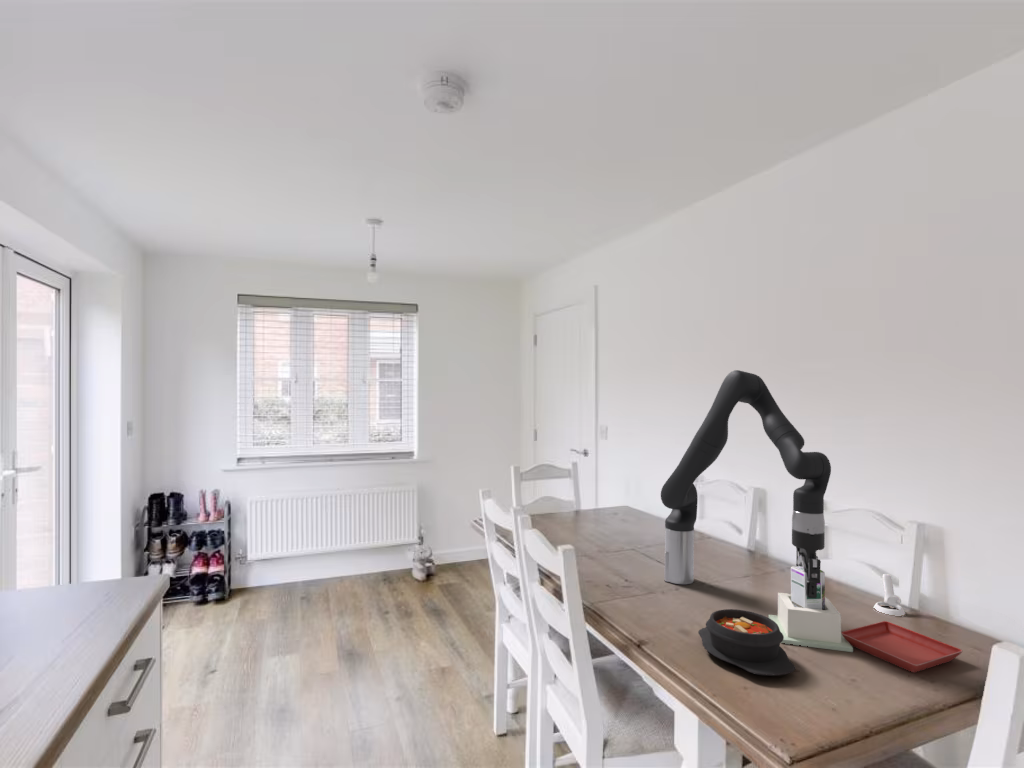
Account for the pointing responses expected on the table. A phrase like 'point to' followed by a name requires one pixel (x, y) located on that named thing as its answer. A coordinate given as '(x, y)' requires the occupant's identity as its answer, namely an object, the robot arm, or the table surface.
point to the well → (810, 625)
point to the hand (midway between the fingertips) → (807, 592)
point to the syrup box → (799, 590)
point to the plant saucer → (900, 646)
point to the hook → (889, 599)
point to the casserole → (746, 642)
